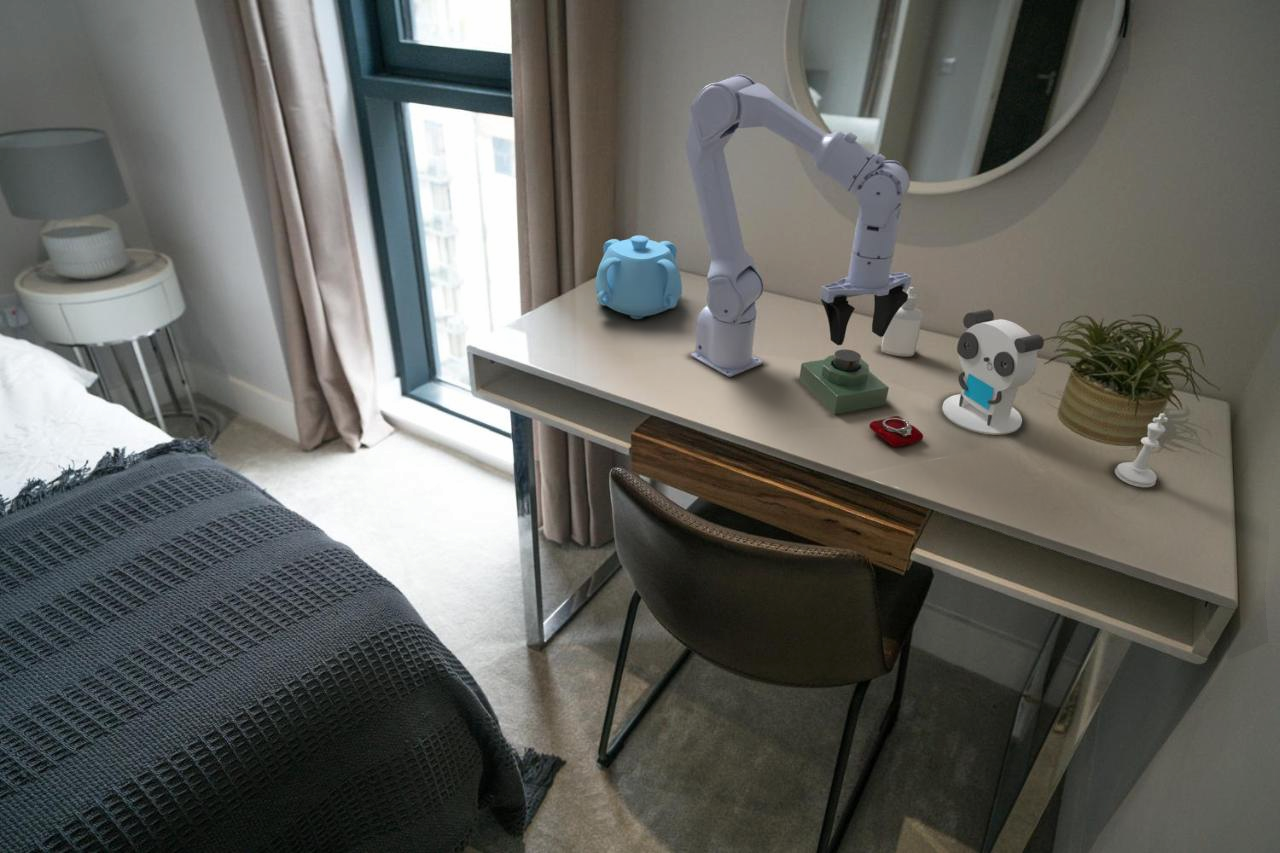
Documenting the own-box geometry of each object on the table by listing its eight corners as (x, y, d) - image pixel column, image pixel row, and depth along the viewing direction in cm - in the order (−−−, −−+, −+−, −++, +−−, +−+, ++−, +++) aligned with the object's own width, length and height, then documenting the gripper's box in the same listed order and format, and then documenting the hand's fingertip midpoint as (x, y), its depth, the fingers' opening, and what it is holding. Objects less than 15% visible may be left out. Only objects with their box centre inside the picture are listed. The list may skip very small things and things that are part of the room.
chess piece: (1107, 466, 109) (1133, 404, 103) (1140, 465, 109) (1168, 403, 104) (1128, 488, 105) (1156, 425, 99) (1163, 487, 105) (1193, 423, 100)
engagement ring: (893, 452, 111) (897, 435, 109) (865, 431, 115) (868, 415, 113) (924, 442, 113) (928, 426, 111) (895, 422, 117) (899, 406, 116)
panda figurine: (923, 401, 123) (945, 313, 114) (979, 388, 126) (1004, 301, 118) (979, 441, 113) (1007, 348, 105) (1038, 425, 117) (1069, 334, 109)
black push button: (827, 362, 123) (829, 351, 122) (849, 359, 124) (852, 347, 123) (841, 374, 120) (843, 362, 119) (863, 371, 121) (866, 359, 120)
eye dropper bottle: (905, 361, 134) (920, 296, 127) (876, 350, 137) (889, 286, 130) (918, 353, 136) (933, 288, 130) (888, 342, 140) (902, 279, 133)
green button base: (798, 380, 128) (802, 352, 125) (847, 372, 130) (852, 345, 127) (834, 414, 119) (839, 385, 116) (885, 405, 121) (891, 377, 119)
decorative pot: (587, 320, 145) (585, 249, 138) (604, 286, 159) (604, 220, 151) (674, 328, 143) (677, 256, 136) (684, 293, 157) (688, 226, 149)
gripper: (847, 268, 106) (832, 357, 114) (932, 254, 111) (912, 341, 119) (817, 251, 112) (805, 337, 119) (899, 239, 117) (883, 322, 124)
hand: (857, 338), depth 119 cm, fingers open, 7 cm apart
